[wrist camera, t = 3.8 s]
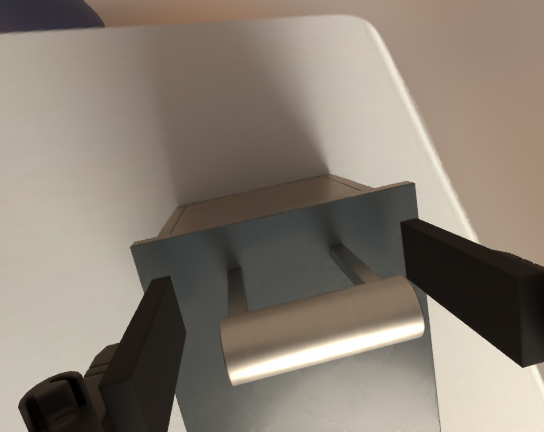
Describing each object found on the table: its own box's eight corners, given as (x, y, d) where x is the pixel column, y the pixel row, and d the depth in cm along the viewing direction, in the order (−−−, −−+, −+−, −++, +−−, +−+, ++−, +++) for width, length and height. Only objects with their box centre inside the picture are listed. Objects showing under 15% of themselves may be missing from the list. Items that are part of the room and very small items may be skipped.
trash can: (177, 206, 30) (139, 261, 17) (330, 173, 32) (408, 199, 18) (219, 364, 34) (215, 510, 21) (355, 329, 35) (436, 446, 22)
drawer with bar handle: (133, 241, 17) (59, 326, 9) (407, 180, 18) (541, 211, 10) (215, 511, 21) (210, 726, 13) (436, 447, 22) (549, 612, 14)
